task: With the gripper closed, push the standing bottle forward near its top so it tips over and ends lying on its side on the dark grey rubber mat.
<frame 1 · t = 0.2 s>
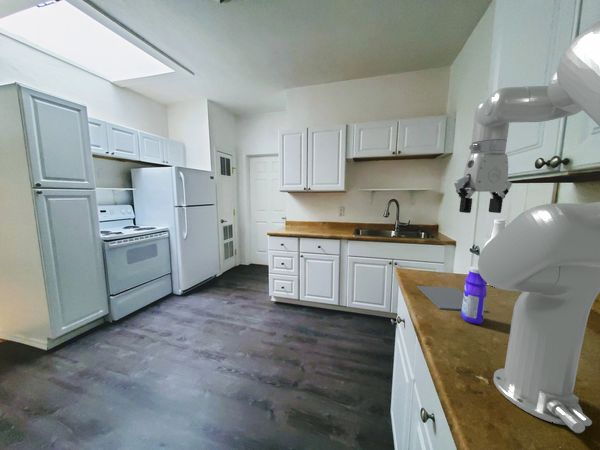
hand: (479, 212, 66), 35 cm above the countertop, tool pointing down, fingers open, 9 cm apart
bottle: (471, 320, 76), on the countertop
mat: (448, 298, 92), on the countertop
alcohol: (491, 284, 107), on the countertop
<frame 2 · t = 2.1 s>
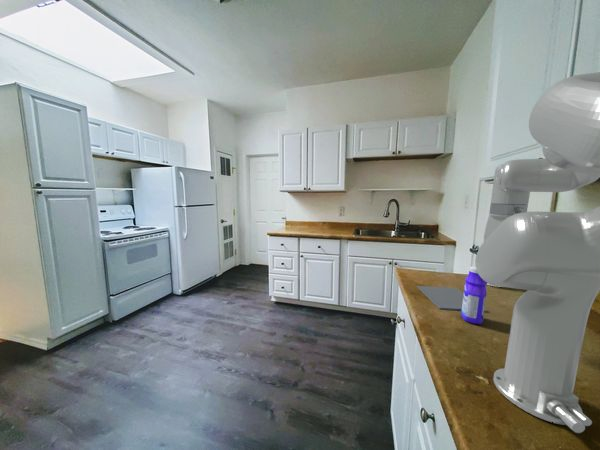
hand: (498, 275, 66), 18 cm above the countertop, tool pointing down, fingers closed
nothing on the countertop moved.
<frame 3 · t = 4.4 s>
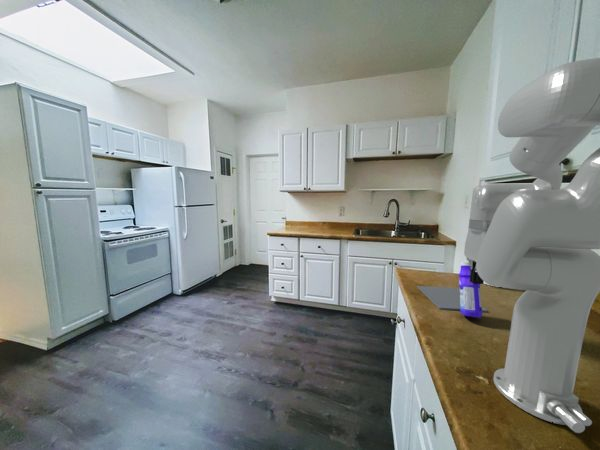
hand: (476, 282, 75), 13 cm above the countertop, tool pointing down, fingers closed
bottle: (471, 316, 76), point 1 cm above the countertop, touching gripper
everything else where it was.
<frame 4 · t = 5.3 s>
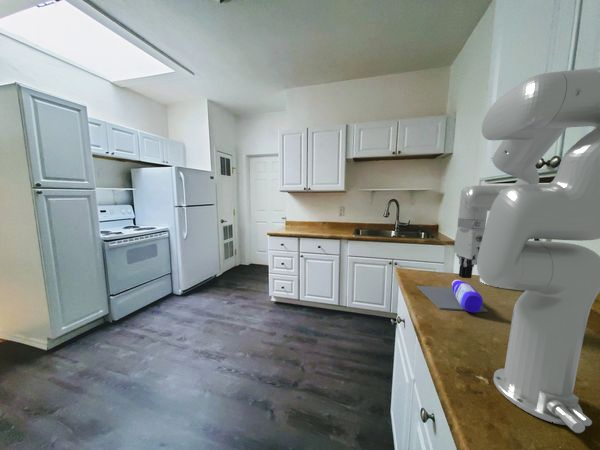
hand: (464, 277, 80), 12 cm above the countertop, tool pointing down, fingers closed
bottle: (473, 304, 78), point 4 cm above the countertop, touching mat
everything else where it was.
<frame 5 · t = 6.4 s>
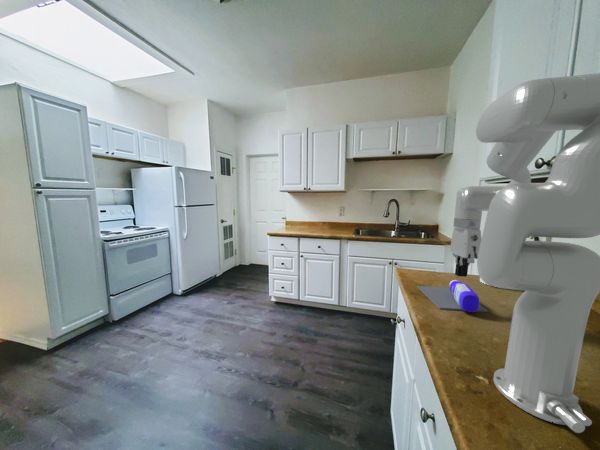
hand: (460, 275, 83), 12 cm above the countertop, tool pointing down, fingers closed
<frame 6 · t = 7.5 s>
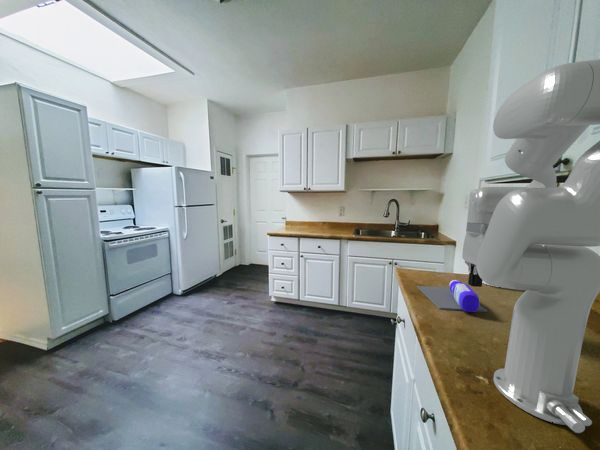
hand: (474, 285, 75), 12 cm above the countertop, tool pointing down, fingers closed
nothing on the countertop moved.
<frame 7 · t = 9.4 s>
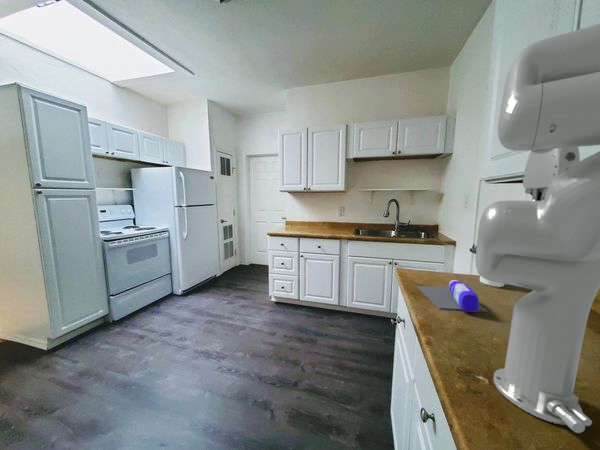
hand: (541, 216, 61), 35 cm above the countertop, tool pointing down, fingers closed
nothing on the countertop moved.
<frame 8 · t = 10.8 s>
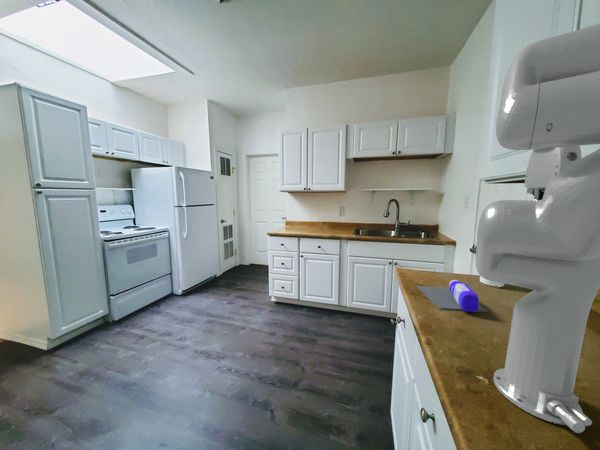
hand: (543, 216, 61), 35 cm above the countertop, tool pointing down, fingers closed
nothing on the countertop moved.
at the end: bottle tilted 89°; bottle touching mat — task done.
